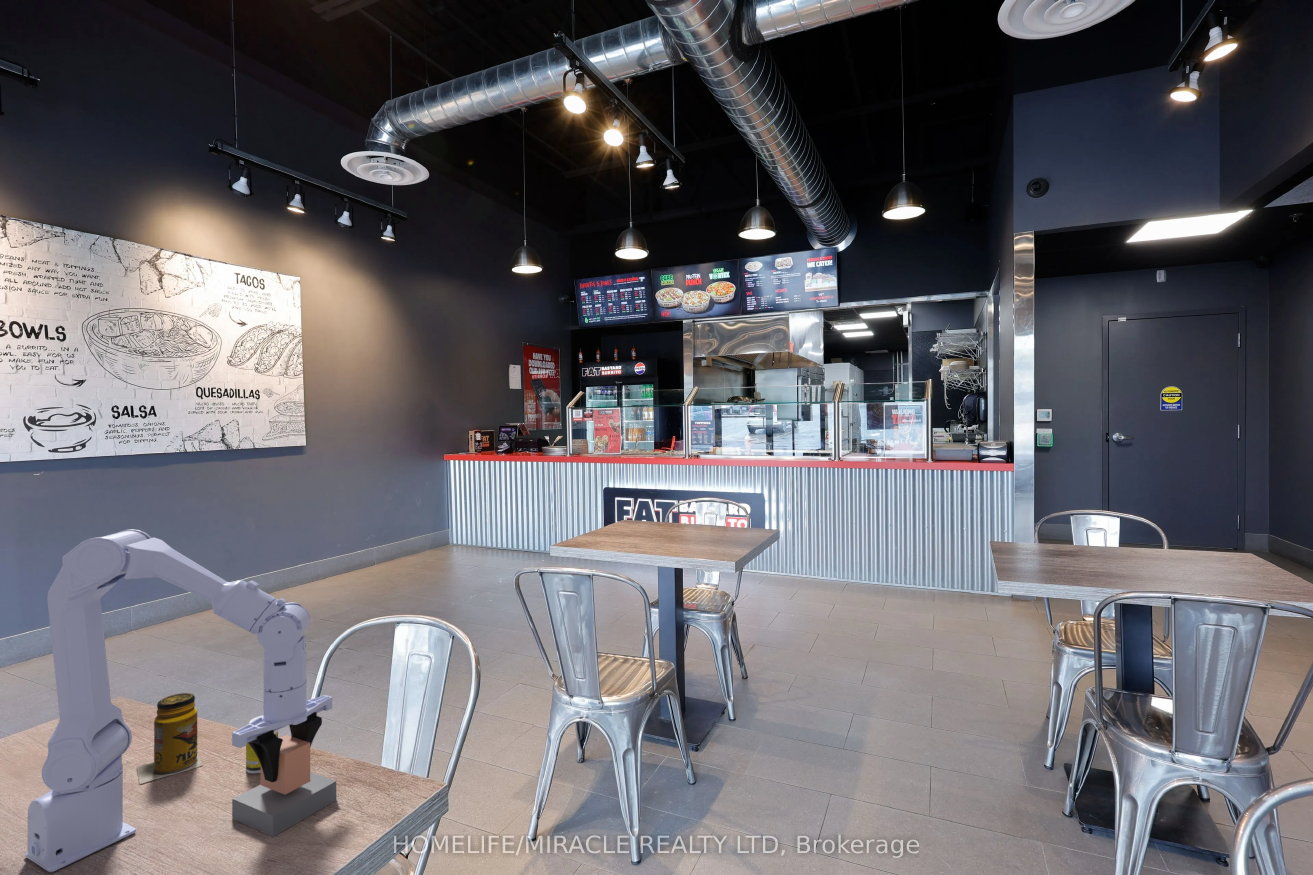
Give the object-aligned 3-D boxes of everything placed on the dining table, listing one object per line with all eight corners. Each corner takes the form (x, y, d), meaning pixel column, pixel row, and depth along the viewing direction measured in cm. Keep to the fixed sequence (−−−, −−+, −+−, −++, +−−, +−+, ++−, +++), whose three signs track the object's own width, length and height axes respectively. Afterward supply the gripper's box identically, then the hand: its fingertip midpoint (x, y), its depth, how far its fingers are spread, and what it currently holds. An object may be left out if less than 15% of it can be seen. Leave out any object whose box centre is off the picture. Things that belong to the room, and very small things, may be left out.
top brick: (284, 794, 91) (284, 754, 91) (260, 784, 93) (260, 745, 93) (310, 781, 94) (310, 742, 94) (286, 772, 97) (286, 734, 97)
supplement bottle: (262, 775, 103) (262, 726, 103) (239, 773, 104) (238, 724, 104) (284, 761, 108) (284, 714, 108) (262, 758, 109) (262, 712, 109)
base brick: (273, 836, 87) (272, 815, 87) (232, 818, 92) (232, 798, 92) (336, 799, 96) (336, 780, 96) (296, 784, 100) (296, 766, 101)
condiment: (202, 766, 107) (202, 698, 107) (139, 785, 101) (139, 713, 101) (196, 751, 112) (196, 686, 112) (136, 768, 106) (136, 700, 106)
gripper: (252, 708, 86) (252, 804, 86) (344, 673, 99) (344, 756, 99) (223, 699, 89) (223, 792, 89) (316, 666, 102) (316, 747, 102)
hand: (285, 772), depth 94 cm, fingers closed on top brick, 4 cm apart
